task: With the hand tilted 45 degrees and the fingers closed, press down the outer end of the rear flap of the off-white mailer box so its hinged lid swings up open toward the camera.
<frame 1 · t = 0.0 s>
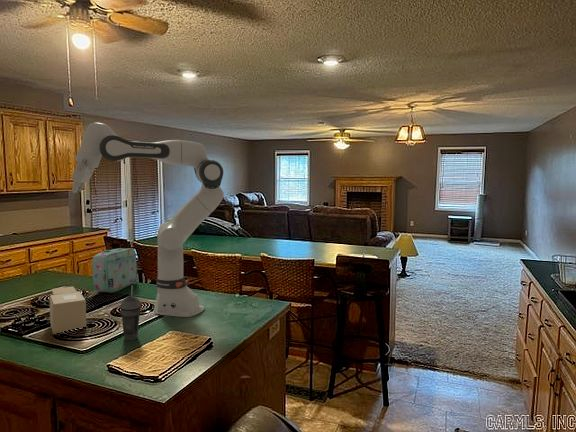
hand: (76, 191, 163), 52 cm above the worktop, tool tilted 20°, fingers open, 8 cm apart
lunch box: (115, 288, 209), on the worktop
mailer box: (68, 326, 155), on the worktop
beverage cup: (130, 338, 147), on the worktop
lid: (66, 295, 158), point 11 cm above the worktop, hinge at 0.0°
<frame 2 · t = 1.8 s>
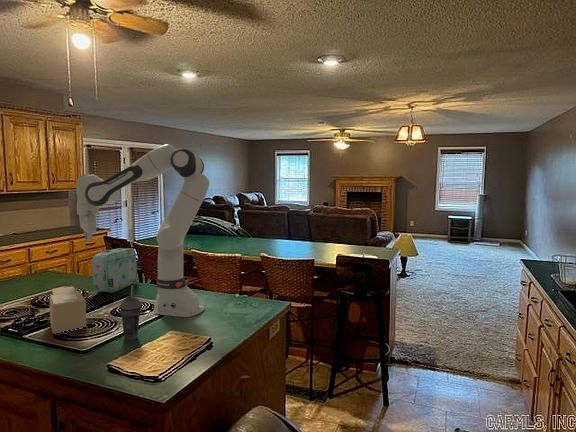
hand: (88, 240, 182), 29 cm above the worktop, tool pointing down, fingers open, 4 cm apart
nothing on the worktop moved.
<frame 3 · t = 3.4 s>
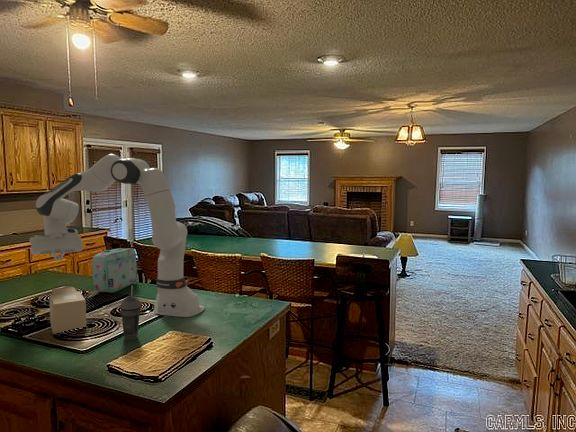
hand: (58, 259, 176), 21 cm above the worktop, tool tilted 45°, fingers closed
nothing on the worktop moved.
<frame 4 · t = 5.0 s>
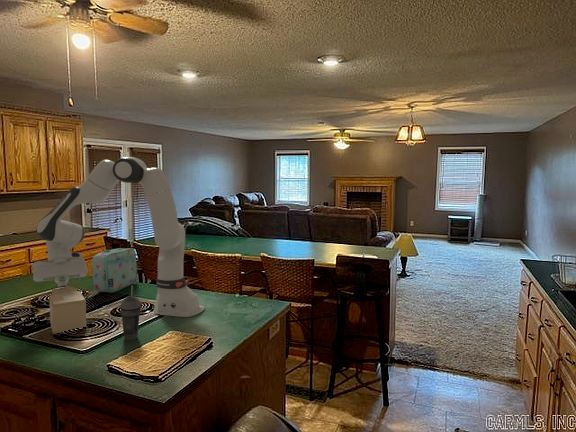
hand: (62, 286, 166), 12 cm above the worktop, tool tilted 45°, fingers closed, pressing on lid
lid: (66, 295, 158), point 11 cm above the worktop, hinge at 0.6°, touching gripper
everything else where it was.
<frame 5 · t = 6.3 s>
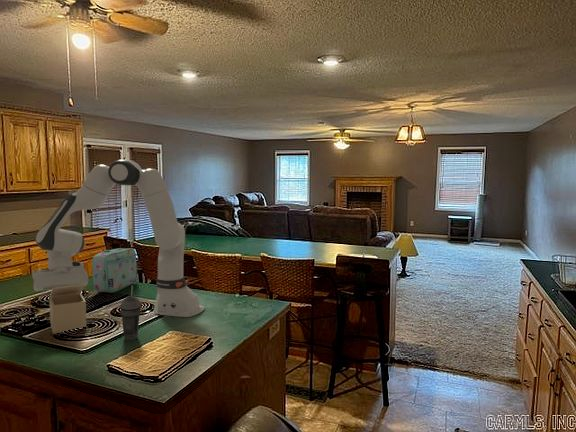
hand: (62, 296, 165), 8 cm above the worktop, tool tilted 45°, fingers closed, pressing on lid
lid: (65, 292, 158), point 12 cm above the worktop, hinge at 27.0°, touching gripper
everything else where it was.
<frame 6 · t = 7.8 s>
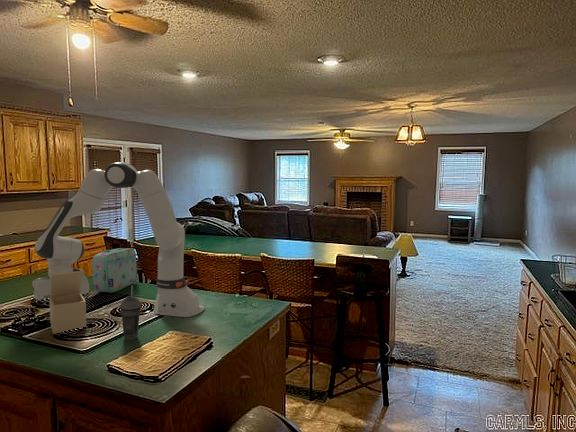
hand: (63, 304, 164), 6 cm above the worktop, tool tilted 45°, fingers closed, pressing on lid
lid: (65, 291, 158), point 13 cm above the worktop, hinge at 52.4°, touching gripper
everything else where it was.
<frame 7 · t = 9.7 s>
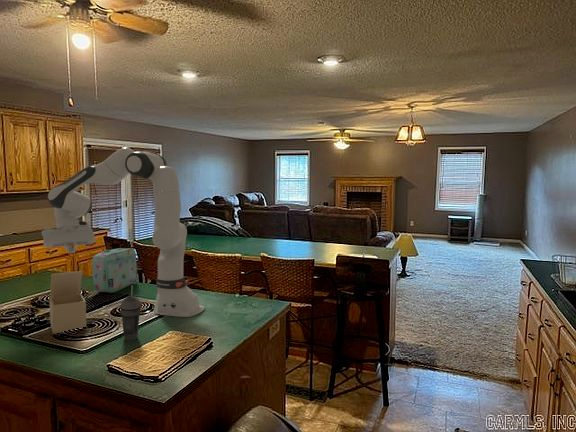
hand: (71, 252, 175), 25 cm above the worktop, tool tilted 45°, fingers closed
lid: (65, 291, 158), point 13 cm above the worktop, hinge at 52.5°
everything else where it was.
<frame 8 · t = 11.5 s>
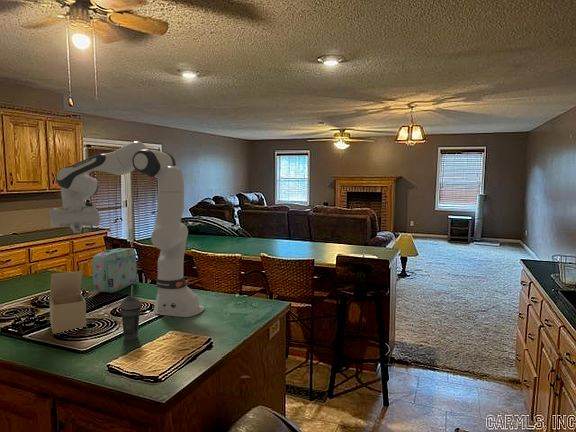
hand: (77, 232, 178), 33 cm above the worktop, tool tilted 45°, fingers closed
nothing on the worktop moved.
at the end: lid at +52° (first picture: +0°) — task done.
